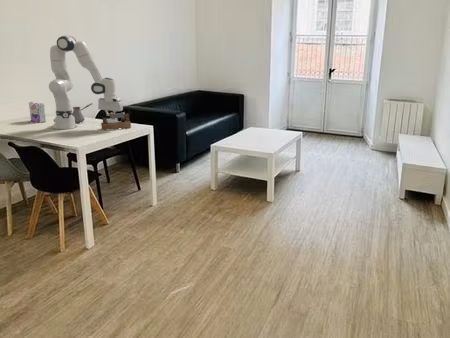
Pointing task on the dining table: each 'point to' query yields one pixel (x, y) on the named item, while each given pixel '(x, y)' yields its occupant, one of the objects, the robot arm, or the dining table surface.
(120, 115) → the lever
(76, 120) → the coffee pot
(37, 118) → the candy box
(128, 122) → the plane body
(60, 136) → the dining table surface
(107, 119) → the cap
